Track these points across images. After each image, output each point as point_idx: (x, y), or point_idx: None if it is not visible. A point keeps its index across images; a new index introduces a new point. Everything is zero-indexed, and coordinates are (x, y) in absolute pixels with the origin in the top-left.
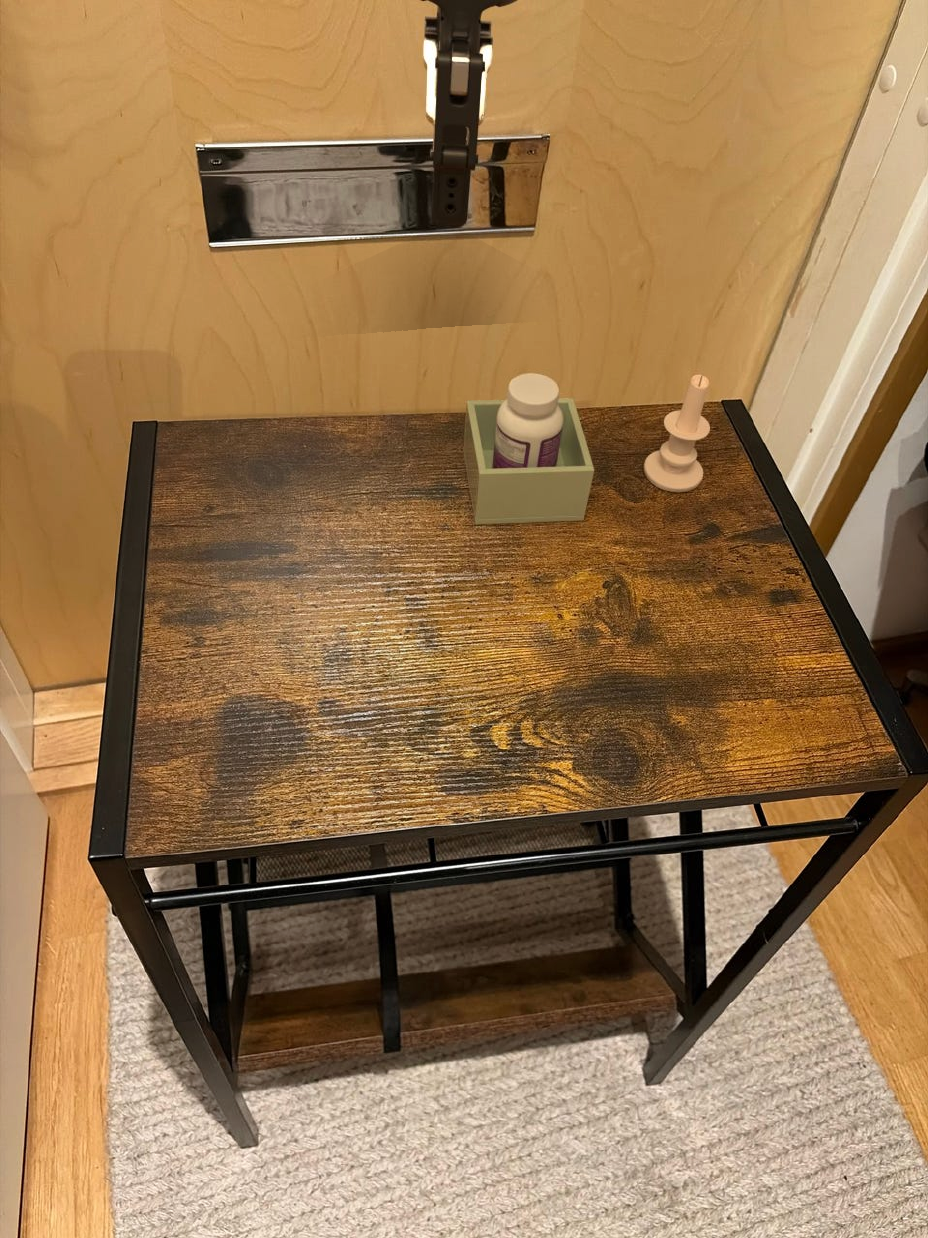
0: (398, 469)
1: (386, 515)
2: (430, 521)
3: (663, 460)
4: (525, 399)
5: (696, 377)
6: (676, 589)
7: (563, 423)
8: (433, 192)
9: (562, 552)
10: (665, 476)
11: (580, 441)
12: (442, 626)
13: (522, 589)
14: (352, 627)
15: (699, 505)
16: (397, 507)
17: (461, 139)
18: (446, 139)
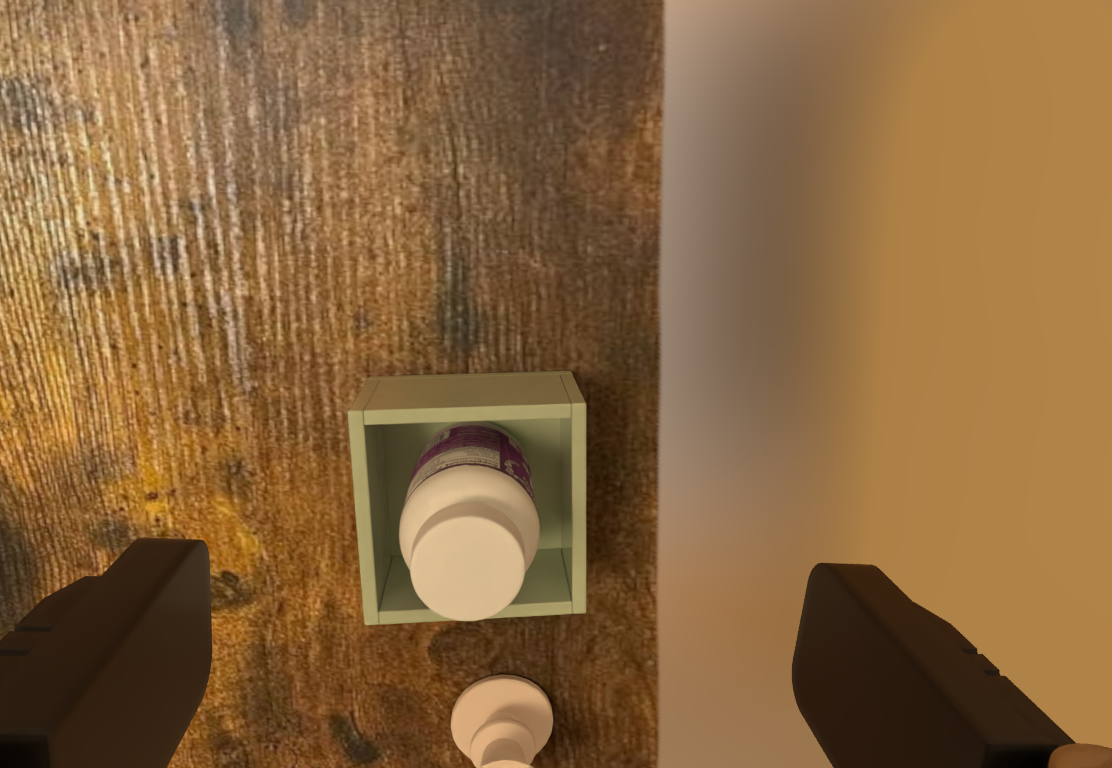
0: (524, 242)
1: (393, 212)
2: (377, 295)
3: (521, 711)
4: (425, 548)
5: None
6: (225, 679)
7: (566, 574)
8: (68, 616)
9: (303, 517)
10: (480, 708)
11: None
12: (113, 299)
13: (211, 442)
14: (96, 134)
15: (421, 744)
16: (415, 234)
17: (844, 751)
18: (852, 678)
